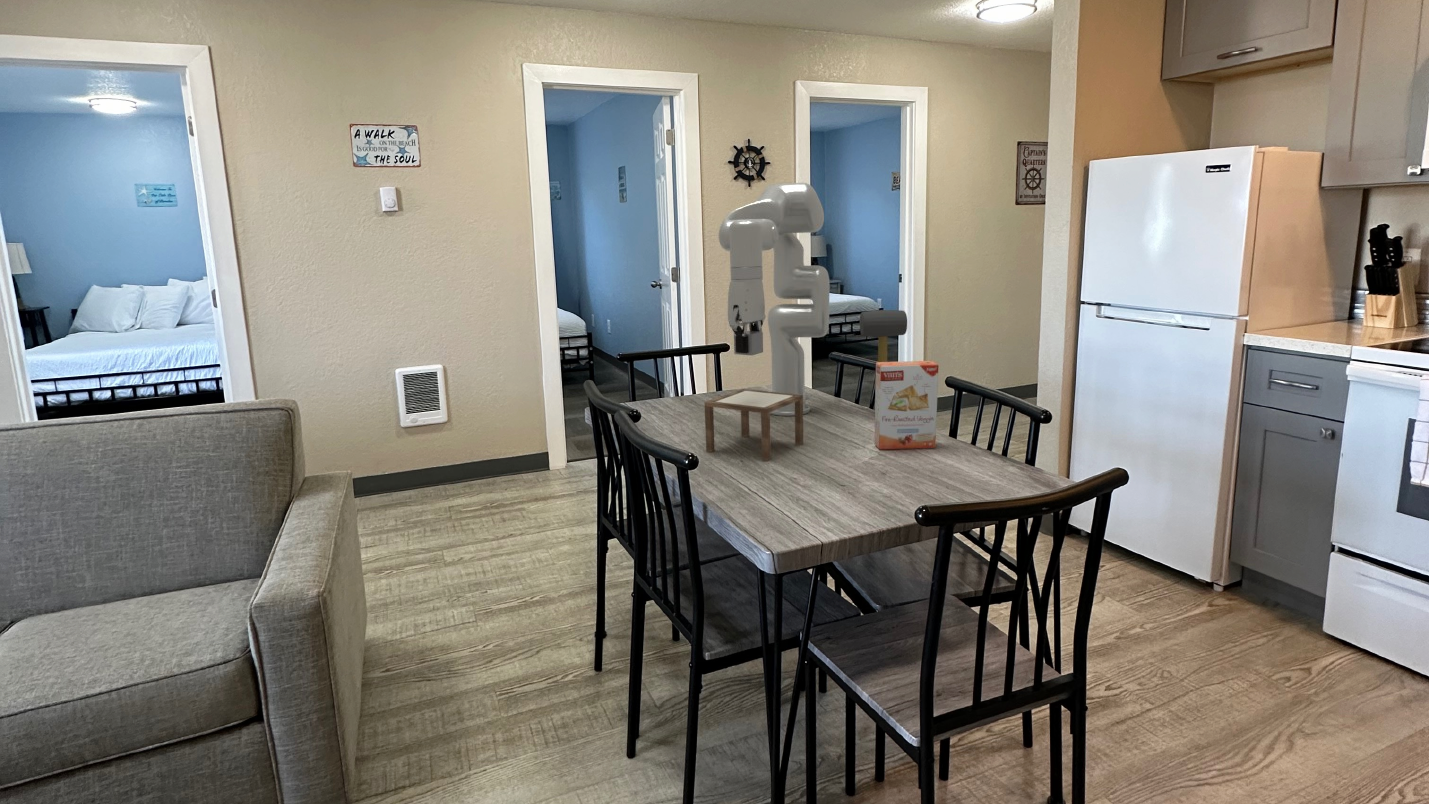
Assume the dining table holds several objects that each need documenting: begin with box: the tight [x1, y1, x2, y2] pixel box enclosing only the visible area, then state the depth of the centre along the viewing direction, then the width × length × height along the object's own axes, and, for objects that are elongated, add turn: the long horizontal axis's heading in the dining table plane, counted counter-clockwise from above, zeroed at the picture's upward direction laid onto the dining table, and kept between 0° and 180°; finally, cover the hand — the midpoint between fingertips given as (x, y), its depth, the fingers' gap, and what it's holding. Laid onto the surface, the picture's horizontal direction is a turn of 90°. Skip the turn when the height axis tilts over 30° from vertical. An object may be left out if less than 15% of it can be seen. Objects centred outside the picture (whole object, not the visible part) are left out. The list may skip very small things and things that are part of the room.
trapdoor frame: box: [704, 388, 804, 462], centre depth 201 cm, size 18×18×12 cm
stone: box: [733, 330, 764, 356], centre depth 194 cm, size 5×5×5 cm
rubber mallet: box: [859, 309, 908, 362], centre depth 228 cm, size 12×8×30 cm, turn 90°
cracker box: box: [874, 360, 939, 450], centre depth 197 cm, size 14×6×21 cm, turn 91°
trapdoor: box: [716, 391, 792, 407], centre depth 200 cm, size 14×14×1 cm
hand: (748, 350), depth 194 cm, fingers closed on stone, 5 cm apart
